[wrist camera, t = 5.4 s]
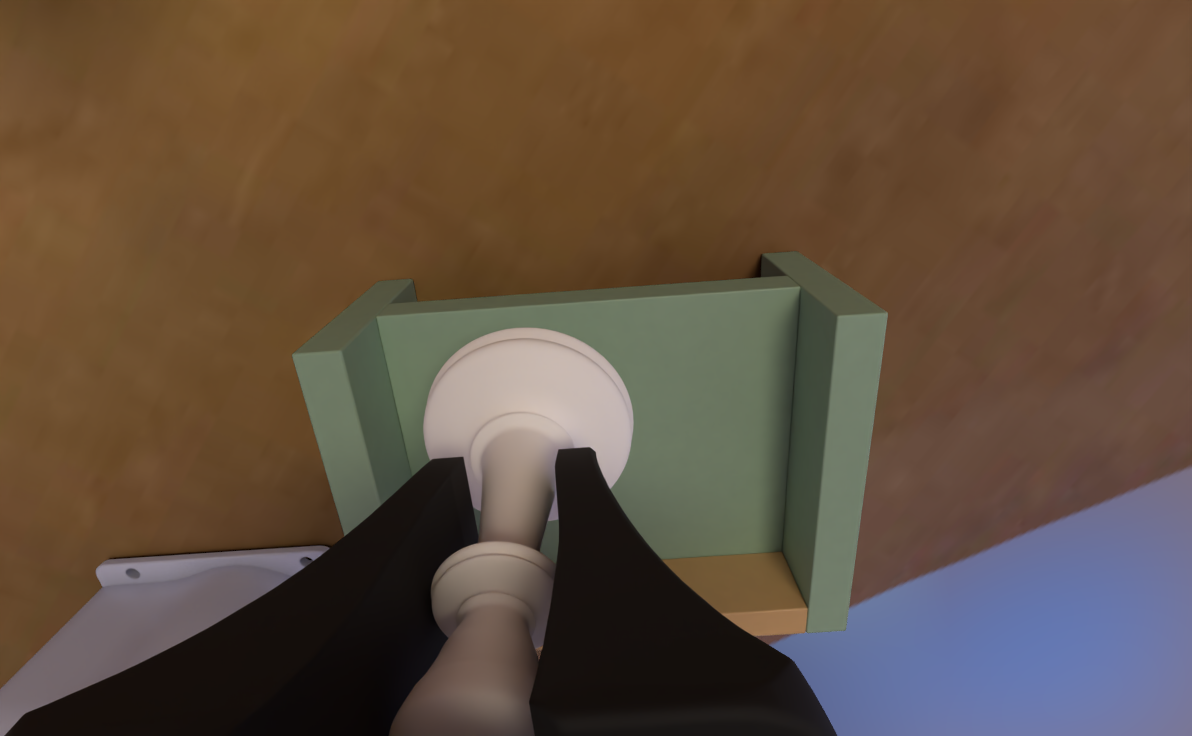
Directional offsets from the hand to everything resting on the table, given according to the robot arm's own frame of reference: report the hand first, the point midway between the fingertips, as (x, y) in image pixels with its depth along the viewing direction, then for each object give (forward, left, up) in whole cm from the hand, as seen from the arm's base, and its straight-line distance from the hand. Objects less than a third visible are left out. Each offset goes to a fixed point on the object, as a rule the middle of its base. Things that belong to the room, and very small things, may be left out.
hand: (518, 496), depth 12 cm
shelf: (+2, -3, -10) cm, 10 cm away
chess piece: (0, 0, -3) cm, 3 cm away
